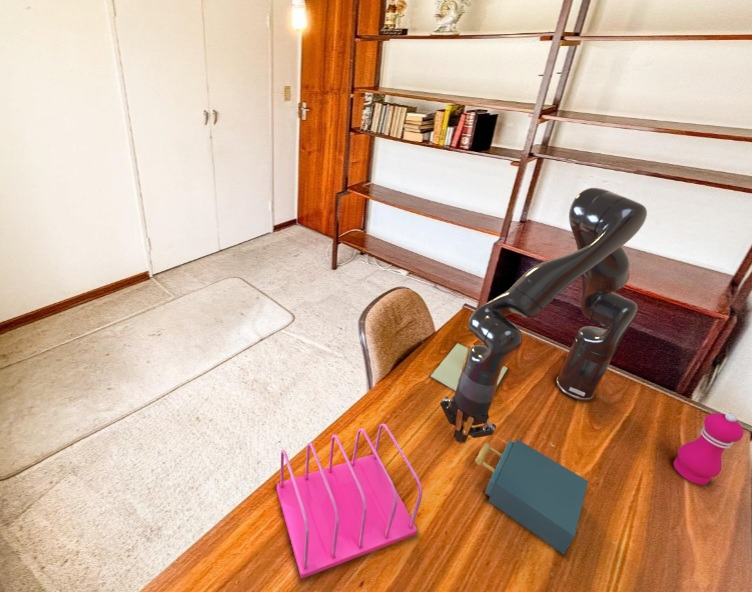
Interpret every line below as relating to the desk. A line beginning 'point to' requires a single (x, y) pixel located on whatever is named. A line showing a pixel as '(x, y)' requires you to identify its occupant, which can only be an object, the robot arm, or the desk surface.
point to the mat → (455, 367)
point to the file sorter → (343, 508)
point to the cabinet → (540, 495)
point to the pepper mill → (708, 448)
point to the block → (467, 355)
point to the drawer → (499, 466)
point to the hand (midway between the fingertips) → (459, 439)
